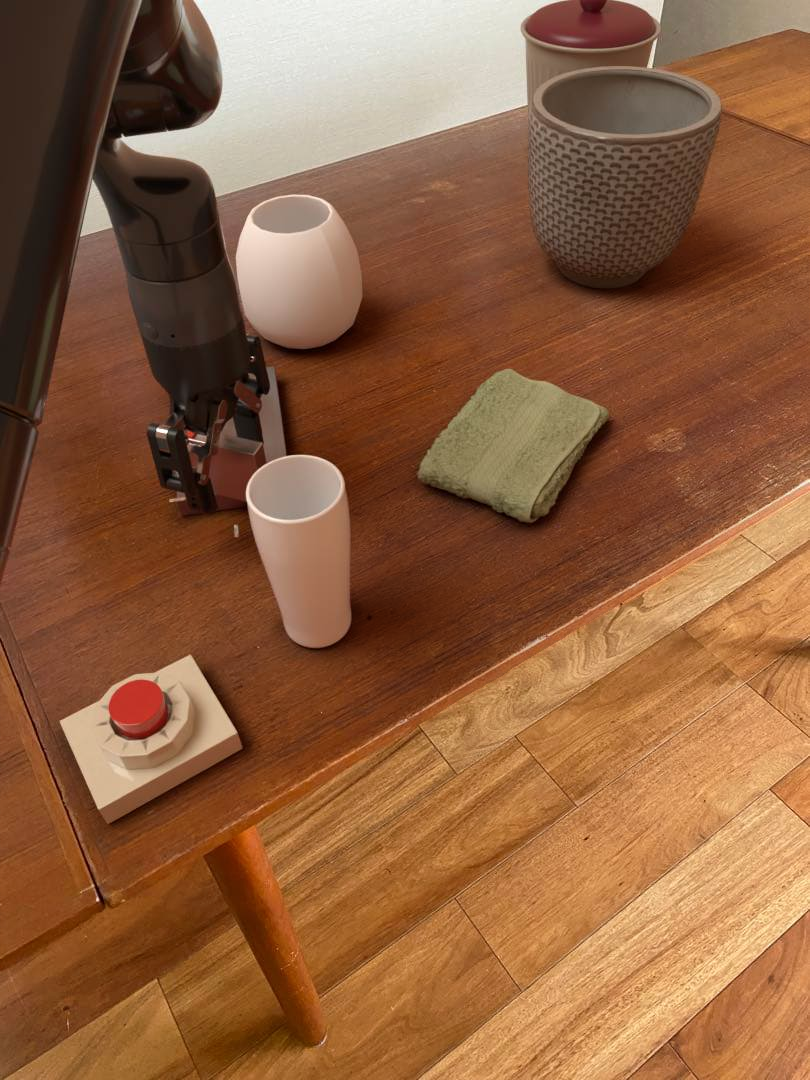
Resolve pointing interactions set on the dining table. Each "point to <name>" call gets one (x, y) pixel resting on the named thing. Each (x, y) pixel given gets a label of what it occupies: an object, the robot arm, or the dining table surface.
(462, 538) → the dining table surface
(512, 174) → the dining table surface
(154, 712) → the button
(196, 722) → the button block
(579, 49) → the canister
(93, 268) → the dining table surface
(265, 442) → the base
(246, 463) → the spout
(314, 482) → the drinking glass
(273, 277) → the cup
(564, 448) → the washcloth
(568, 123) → the planter
